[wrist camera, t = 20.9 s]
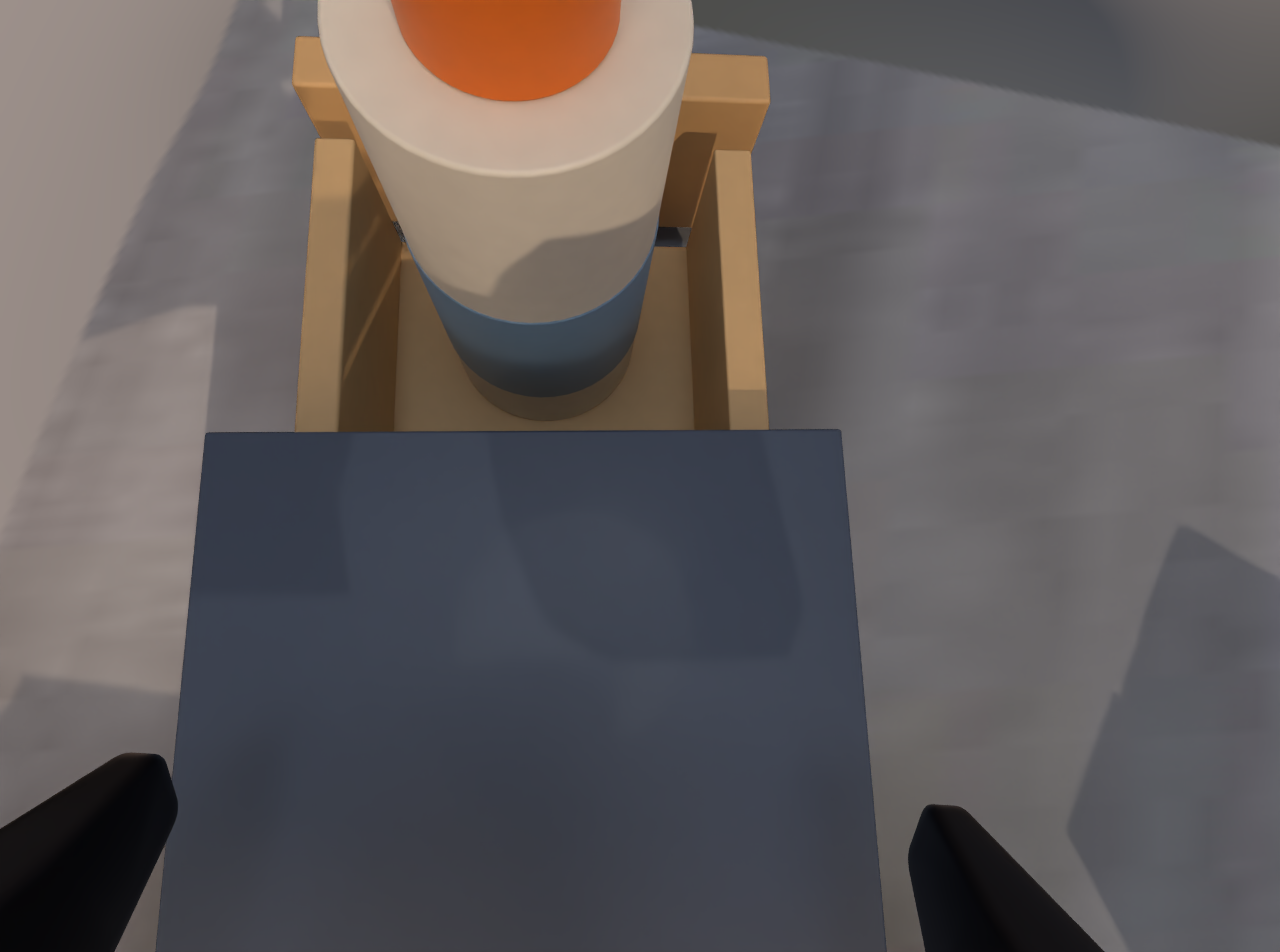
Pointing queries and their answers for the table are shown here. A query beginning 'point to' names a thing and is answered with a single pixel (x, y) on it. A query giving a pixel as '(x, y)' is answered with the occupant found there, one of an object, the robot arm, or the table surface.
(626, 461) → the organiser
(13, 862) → the robot arm
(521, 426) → the drawer
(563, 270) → the glue bottle
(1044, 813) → the table surface
